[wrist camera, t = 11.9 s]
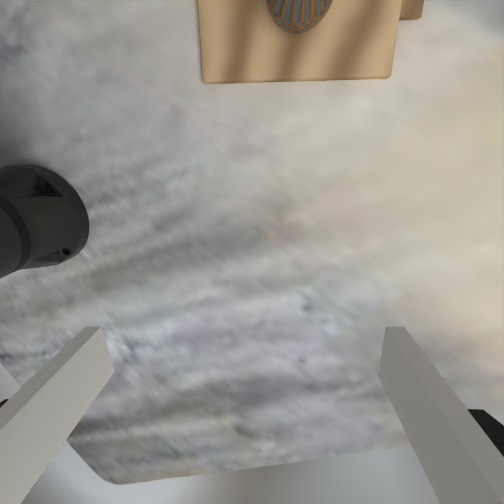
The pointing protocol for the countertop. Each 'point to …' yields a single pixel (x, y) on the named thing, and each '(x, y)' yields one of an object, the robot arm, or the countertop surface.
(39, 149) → the countertop surface
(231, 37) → the board
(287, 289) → the countertop surface
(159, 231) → the countertop surface
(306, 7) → the vase
